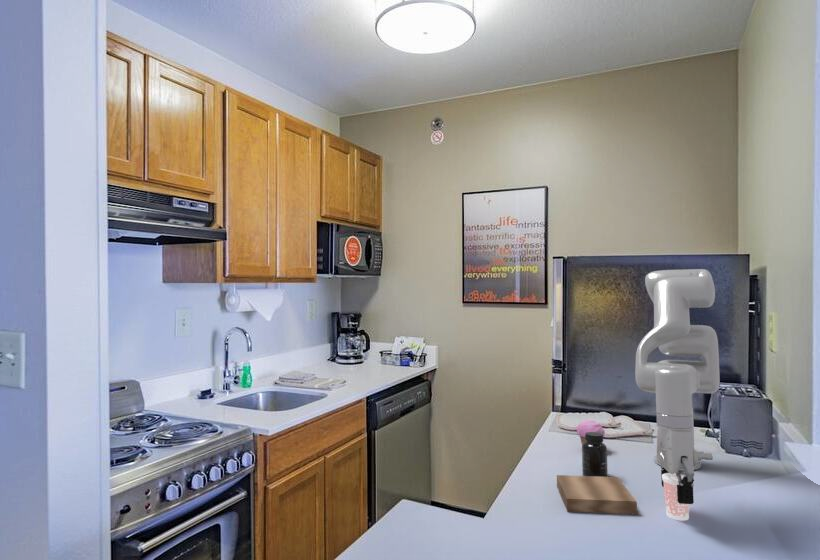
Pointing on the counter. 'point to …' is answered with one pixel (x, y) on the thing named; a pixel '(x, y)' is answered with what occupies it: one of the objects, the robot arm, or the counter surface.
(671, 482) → the beverage cup
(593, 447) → the supplement bottle
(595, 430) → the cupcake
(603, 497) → the walnut base
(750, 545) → the counter surface
